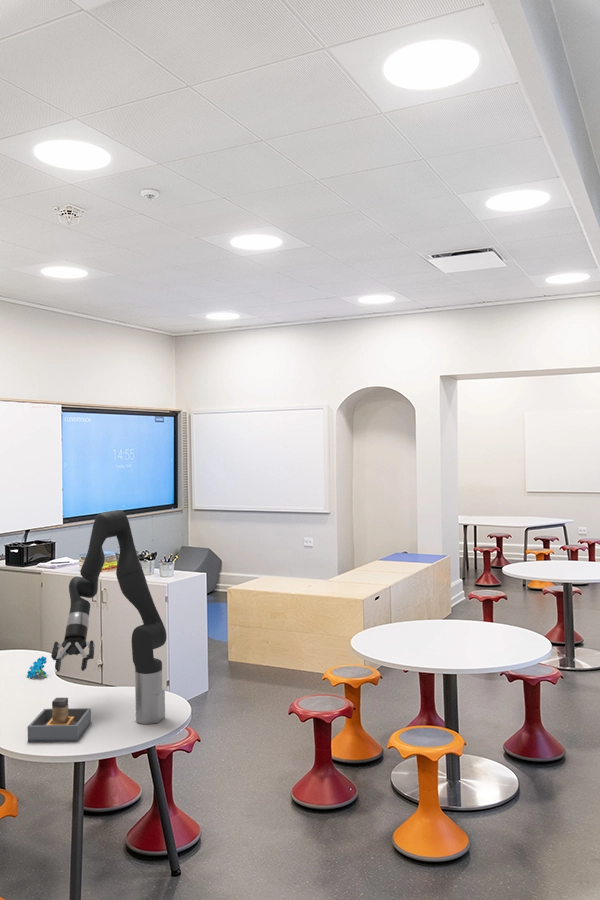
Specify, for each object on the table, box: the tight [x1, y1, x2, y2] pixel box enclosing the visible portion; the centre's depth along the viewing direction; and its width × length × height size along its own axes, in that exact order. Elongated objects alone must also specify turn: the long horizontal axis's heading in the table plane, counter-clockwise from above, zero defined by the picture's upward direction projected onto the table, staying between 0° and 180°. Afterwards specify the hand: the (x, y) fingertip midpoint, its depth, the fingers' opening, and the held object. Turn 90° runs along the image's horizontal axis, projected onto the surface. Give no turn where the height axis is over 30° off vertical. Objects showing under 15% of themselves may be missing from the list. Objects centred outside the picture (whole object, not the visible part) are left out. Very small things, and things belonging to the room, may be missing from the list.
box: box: [27, 707, 92, 743], centre depth 246 cm, size 16×16×5 cm
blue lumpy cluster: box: [26, 655, 48, 679], centre depth 307 cm, size 11×6×10 cm
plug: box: [51, 697, 69, 724], centre depth 246 cm, size 4×4×10 cm
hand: (70, 670), depth 257 cm, fingers open, 8 cm apart
